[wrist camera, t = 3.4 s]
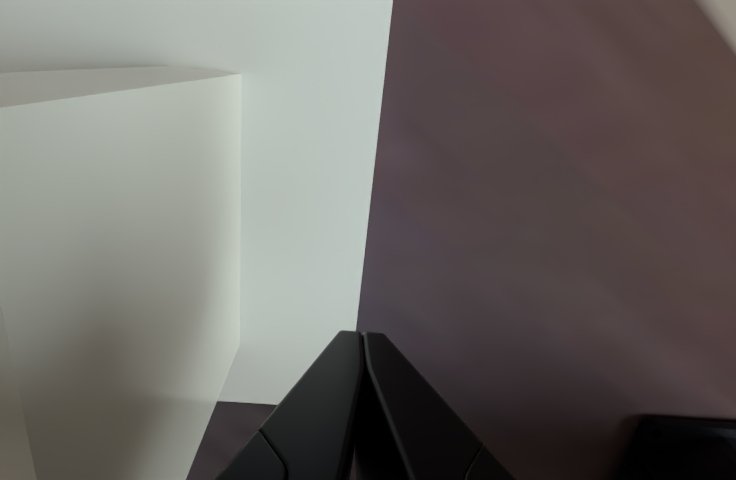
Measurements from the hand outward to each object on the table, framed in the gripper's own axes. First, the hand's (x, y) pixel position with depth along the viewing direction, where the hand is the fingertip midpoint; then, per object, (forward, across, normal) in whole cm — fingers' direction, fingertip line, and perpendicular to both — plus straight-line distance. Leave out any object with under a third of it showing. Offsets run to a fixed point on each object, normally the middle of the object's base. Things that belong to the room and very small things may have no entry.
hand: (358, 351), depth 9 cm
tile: (+6, +5, 0) cm, 8 cm away
